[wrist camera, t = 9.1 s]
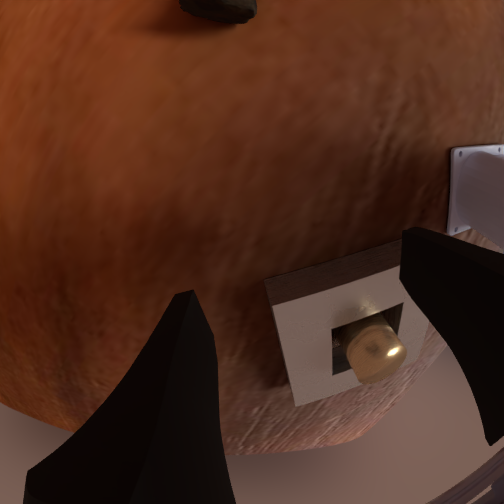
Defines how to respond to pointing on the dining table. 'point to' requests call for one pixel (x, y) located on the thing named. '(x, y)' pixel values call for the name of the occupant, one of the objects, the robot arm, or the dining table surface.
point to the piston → (371, 348)
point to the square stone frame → (339, 316)
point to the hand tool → (221, 9)
